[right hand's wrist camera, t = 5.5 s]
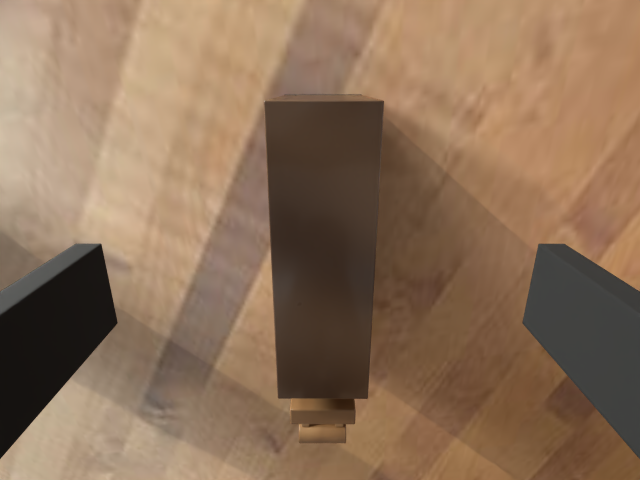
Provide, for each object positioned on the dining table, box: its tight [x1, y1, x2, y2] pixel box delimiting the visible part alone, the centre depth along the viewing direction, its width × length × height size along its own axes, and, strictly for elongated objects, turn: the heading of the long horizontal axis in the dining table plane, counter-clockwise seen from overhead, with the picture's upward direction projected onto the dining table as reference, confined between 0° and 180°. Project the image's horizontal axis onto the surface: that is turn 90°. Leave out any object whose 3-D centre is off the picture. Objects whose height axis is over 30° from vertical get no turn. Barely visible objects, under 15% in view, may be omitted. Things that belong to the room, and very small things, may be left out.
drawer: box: [290, 398, 355, 443], centre depth 28 cm, size 22×4×10 cm, turn 0°
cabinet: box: [264, 95, 384, 399], centre depth 26 cm, size 17×5×11 cm, turn 0°
